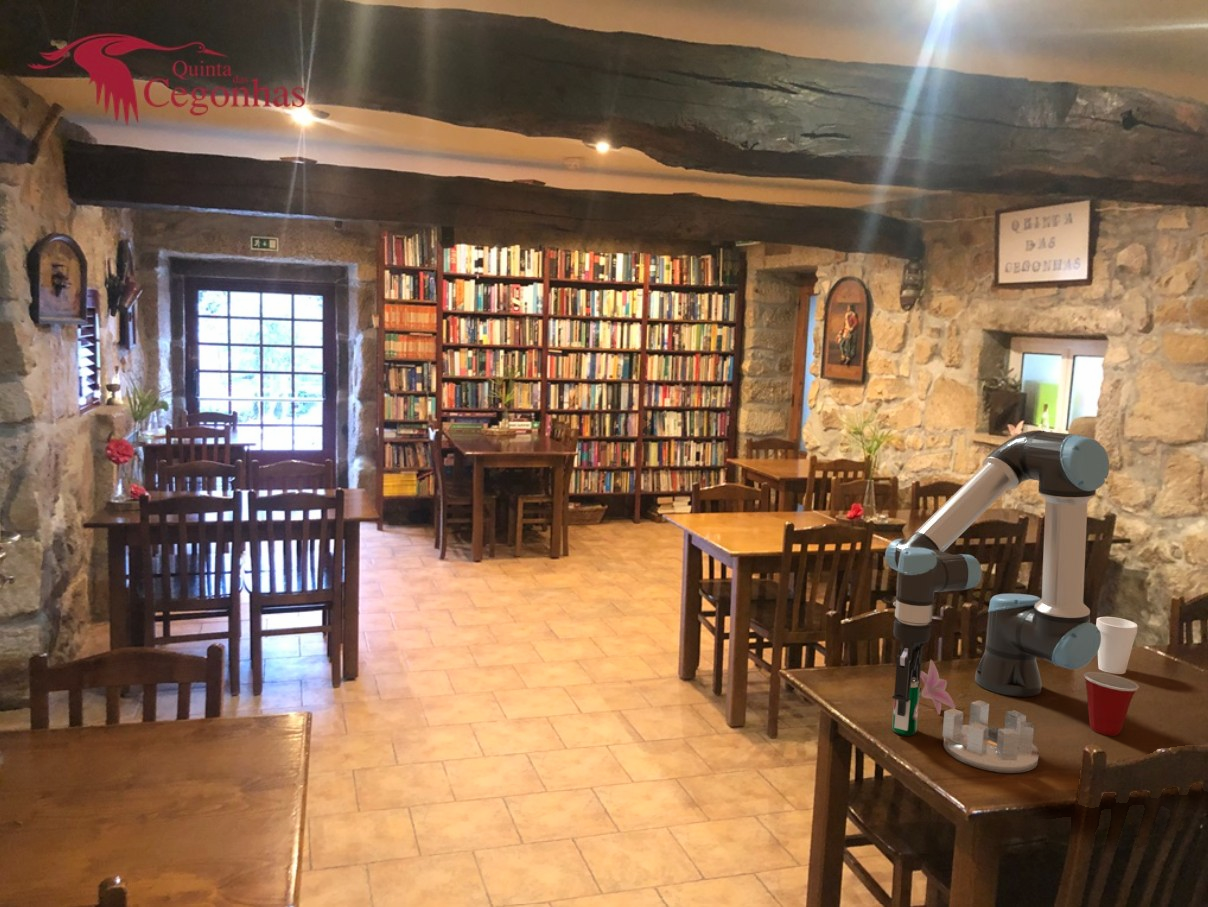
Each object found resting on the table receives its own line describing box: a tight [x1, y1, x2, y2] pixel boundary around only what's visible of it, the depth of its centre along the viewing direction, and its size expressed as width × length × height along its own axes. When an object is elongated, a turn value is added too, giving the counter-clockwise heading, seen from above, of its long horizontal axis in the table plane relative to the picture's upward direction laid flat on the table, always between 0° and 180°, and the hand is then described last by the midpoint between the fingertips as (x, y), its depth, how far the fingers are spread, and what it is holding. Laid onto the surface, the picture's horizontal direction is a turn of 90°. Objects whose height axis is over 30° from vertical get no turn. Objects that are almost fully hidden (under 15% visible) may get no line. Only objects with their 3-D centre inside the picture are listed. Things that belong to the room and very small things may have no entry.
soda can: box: [891, 677, 921, 737], centre depth 197 cm, size 5×5×12 cm
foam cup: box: [1095, 616, 1138, 675], centre depth 241 cm, size 10×9×13 cm
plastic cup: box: [1083, 671, 1140, 737], centre depth 202 cm, size 11×11×12 cm
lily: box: [919, 659, 956, 715], centre depth 212 cm, size 12×12×10 cm
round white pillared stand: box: [942, 699, 1039, 774], centre depth 188 cm, size 18×18×8 cm
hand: (904, 723), depth 198 cm, fingers closed on soda can, 5 cm apart
